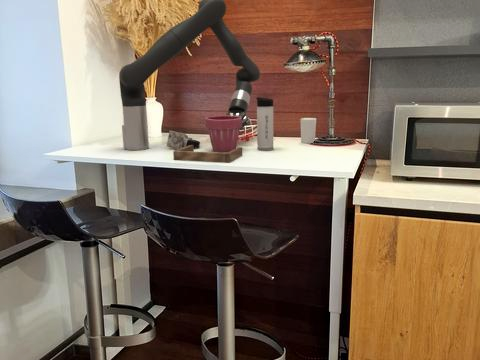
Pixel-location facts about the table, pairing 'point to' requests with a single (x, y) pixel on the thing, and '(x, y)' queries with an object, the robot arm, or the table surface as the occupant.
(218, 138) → the plant pot
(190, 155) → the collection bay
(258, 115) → the travel mug
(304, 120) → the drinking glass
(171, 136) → the caster wheel
